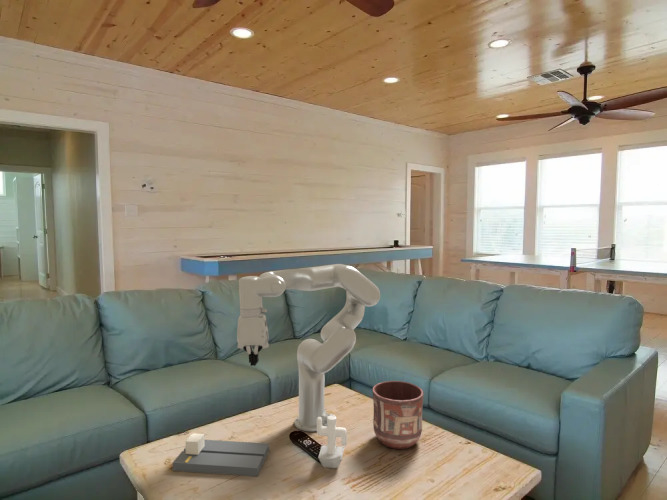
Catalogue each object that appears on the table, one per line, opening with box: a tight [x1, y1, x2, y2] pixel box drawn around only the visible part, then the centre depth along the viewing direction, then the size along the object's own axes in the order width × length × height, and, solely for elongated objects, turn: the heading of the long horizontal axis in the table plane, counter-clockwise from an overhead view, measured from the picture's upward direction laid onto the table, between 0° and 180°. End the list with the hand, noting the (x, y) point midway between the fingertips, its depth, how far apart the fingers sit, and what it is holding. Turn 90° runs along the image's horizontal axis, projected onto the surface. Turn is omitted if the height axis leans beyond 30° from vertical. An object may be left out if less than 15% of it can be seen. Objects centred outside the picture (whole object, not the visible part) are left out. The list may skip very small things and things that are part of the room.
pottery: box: [371, 380, 425, 450], centre depth 143 cm, size 18×18×18 cm
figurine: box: [316, 414, 348, 469], centre depth 129 cm, size 7×9×15 cm
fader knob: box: [184, 432, 205, 455], centre depth 132 cm, size 4×5×5 cm
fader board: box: [171, 439, 270, 477], centre depth 131 cm, size 26×14×3 cm, turn 85°
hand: (254, 364), depth 145 cm, fingers closed
